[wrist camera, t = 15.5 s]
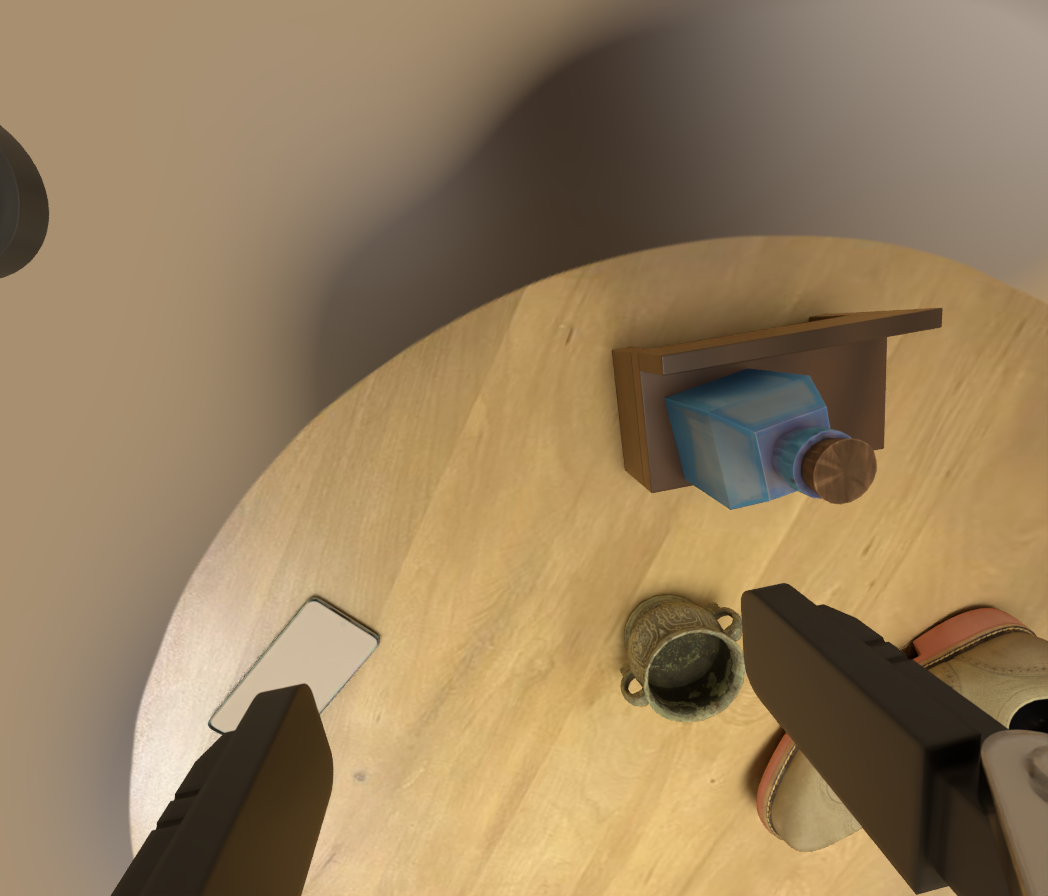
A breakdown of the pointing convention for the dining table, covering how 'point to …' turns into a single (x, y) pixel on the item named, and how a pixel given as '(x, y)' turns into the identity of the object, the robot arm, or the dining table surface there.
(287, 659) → the smartphone
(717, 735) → the dining table surface
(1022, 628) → the oxford shoe
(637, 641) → the vessel
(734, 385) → the perfume bottle
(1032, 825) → the robot arm
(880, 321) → the wooden display stand
